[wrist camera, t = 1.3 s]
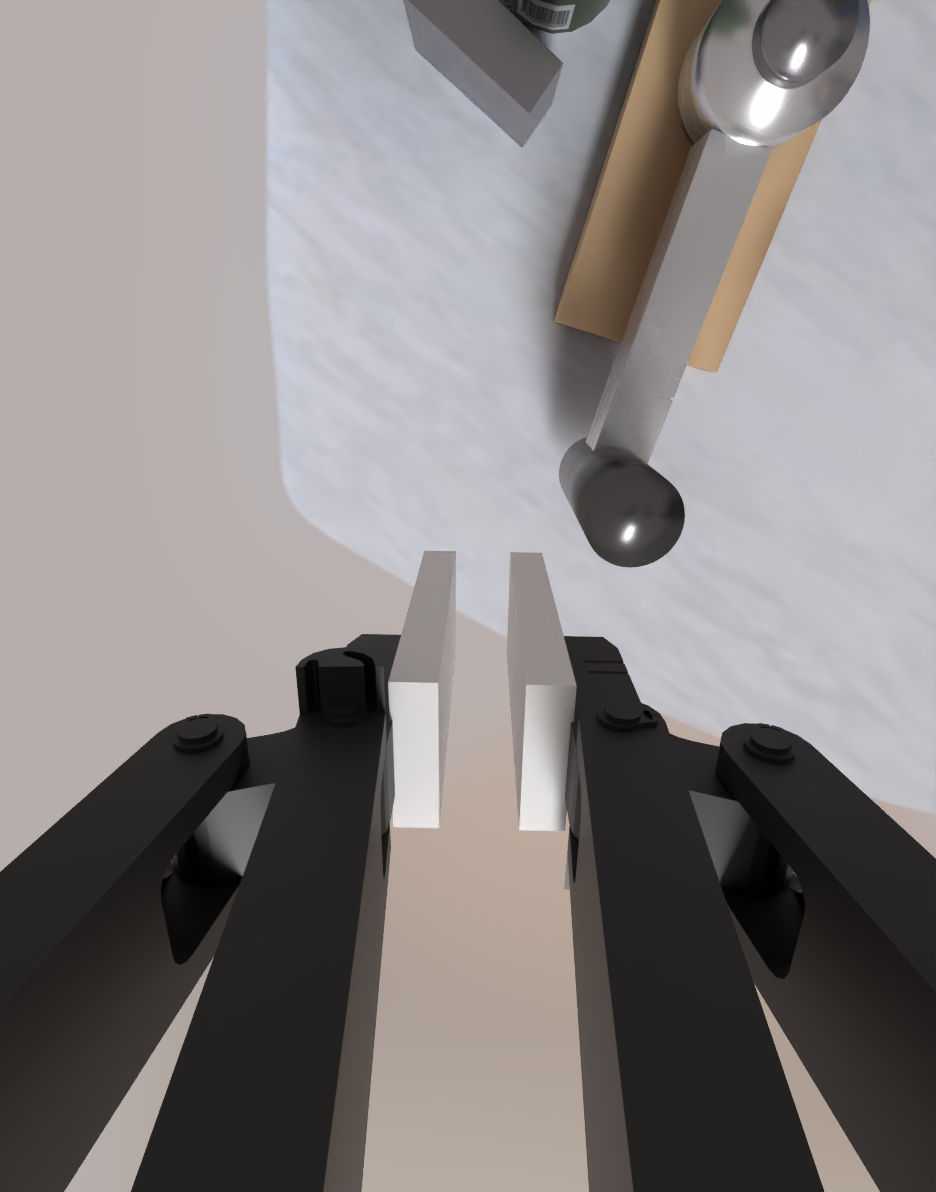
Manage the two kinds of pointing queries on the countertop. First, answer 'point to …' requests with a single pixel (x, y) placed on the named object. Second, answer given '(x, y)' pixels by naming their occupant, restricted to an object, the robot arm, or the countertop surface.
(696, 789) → the robot arm
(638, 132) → the press bench
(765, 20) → the pivot and anvil
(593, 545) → the lever
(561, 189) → the countertop surface
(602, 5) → the green drink can
